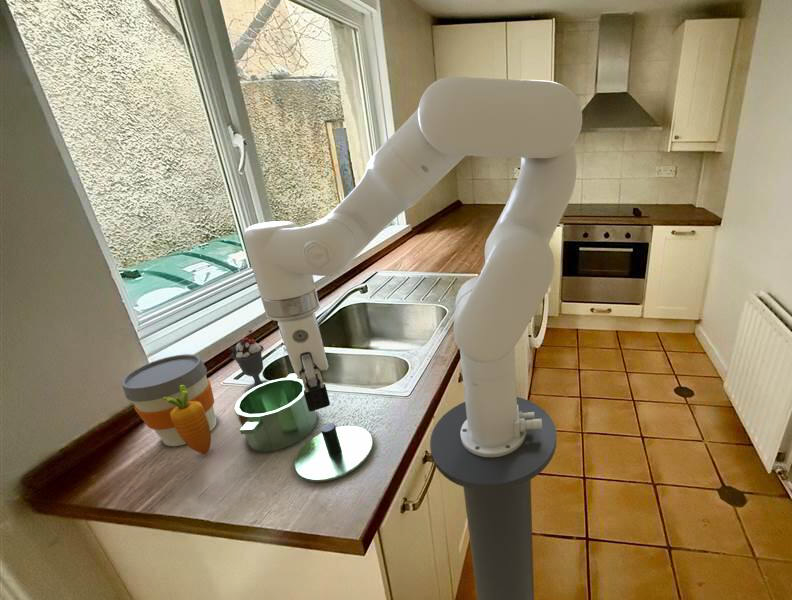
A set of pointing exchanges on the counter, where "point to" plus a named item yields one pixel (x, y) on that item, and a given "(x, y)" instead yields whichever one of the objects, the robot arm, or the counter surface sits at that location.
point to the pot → (275, 414)
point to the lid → (333, 453)
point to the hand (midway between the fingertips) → (315, 392)
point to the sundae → (249, 359)
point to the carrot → (190, 422)
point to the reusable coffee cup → (168, 392)
